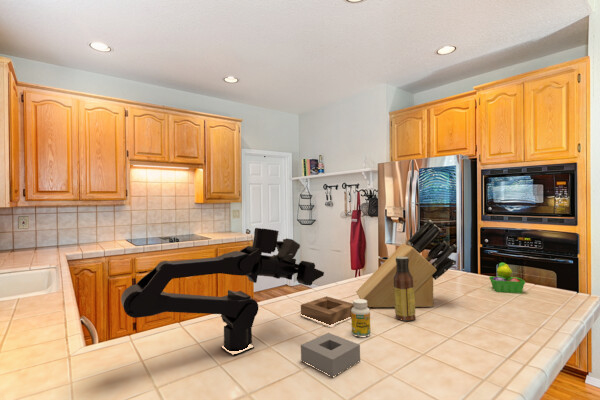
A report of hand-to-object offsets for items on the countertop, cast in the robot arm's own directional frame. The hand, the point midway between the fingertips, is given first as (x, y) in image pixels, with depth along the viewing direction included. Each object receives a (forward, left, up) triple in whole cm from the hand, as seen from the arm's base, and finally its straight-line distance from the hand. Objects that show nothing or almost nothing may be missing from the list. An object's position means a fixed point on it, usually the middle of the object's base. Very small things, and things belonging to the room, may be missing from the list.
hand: (314, 271), depth 97 cm
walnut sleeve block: (+9, +2, -17) cm, 19 cm away
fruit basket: (+83, -32, -17) cm, 90 cm away
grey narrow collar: (-13, -18, -17) cm, 28 cm away
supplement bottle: (+5, -14, -17) cm, 22 cm away
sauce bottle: (+25, -17, -17) cm, 34 cm away
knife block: (+39, -10, -17) cm, 43 cm away
